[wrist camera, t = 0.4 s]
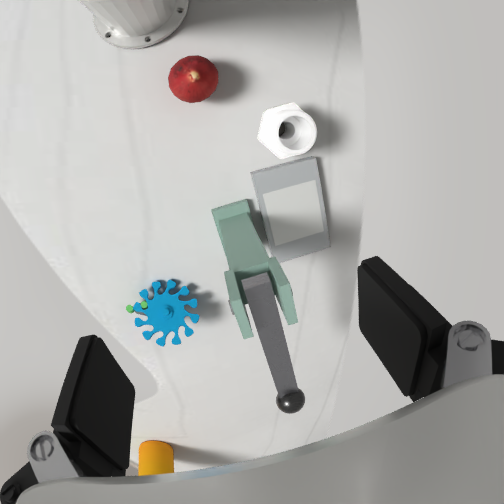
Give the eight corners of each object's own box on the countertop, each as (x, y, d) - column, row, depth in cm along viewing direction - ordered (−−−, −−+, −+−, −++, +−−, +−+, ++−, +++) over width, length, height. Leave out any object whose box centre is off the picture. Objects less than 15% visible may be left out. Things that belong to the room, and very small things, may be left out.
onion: (161, 85, 34) (153, 79, 27) (191, 52, 33) (190, 39, 26) (195, 111, 36) (195, 111, 29) (225, 79, 35) (232, 71, 28)
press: (201, 186, 41) (208, 252, 23) (312, 156, 42) (395, 197, 24) (229, 273, 47) (253, 372, 29) (326, 242, 48) (394, 320, 30)
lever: (234, 279, 28) (239, 302, 25) (272, 268, 29) (282, 289, 25) (276, 400, 38) (282, 421, 35) (302, 392, 38) (309, 412, 35)
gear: (204, 285, 46) (193, 352, 42) (203, 294, 51) (193, 353, 47) (133, 271, 44) (119, 336, 41) (139, 281, 50) (127, 339, 46)
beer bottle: (146, 436, 64) (148, 539, 38) (179, 445, 67) (187, 544, 42) (134, 448, 66) (133, 542, 40) (164, 457, 70) (170, 547, 44)
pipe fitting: (248, 148, 40) (260, 157, 33) (260, 97, 37) (275, 95, 30) (293, 158, 41) (314, 169, 34) (305, 109, 38) (328, 110, 31)
